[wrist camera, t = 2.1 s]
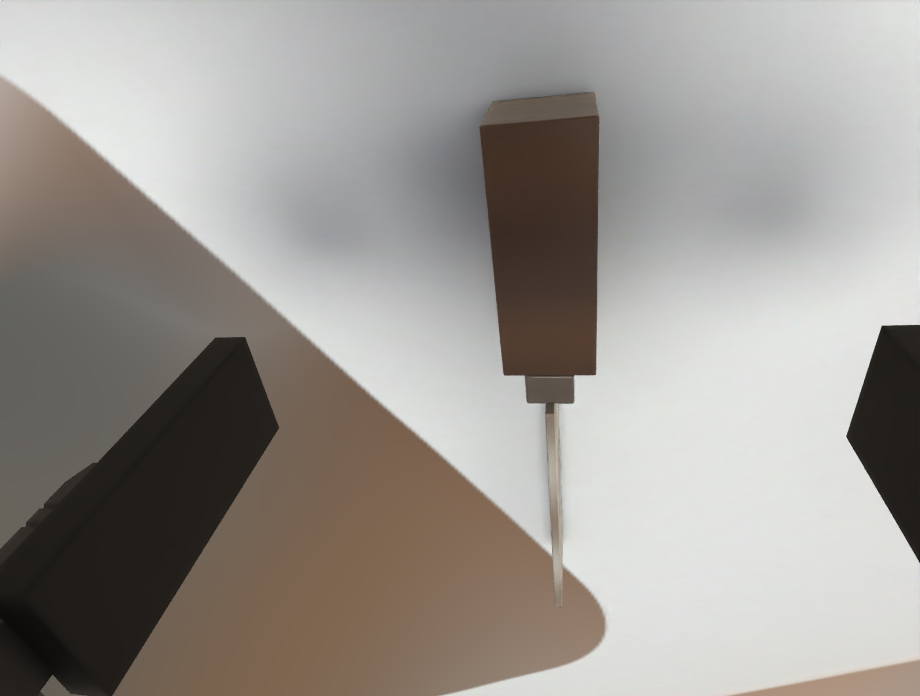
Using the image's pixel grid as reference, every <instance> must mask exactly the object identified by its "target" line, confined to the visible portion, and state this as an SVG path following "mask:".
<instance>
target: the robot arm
mask: <svg viewBox="0 0 920 696" xmlns="http://www.w3.org/2000/svg"><path fill="white" fill-rule="evenodd" d="M278 429H279V426H278V424H277V421H276V418H275V416H274V413H273V410H272V408H271V405H270V402H269V400H268V397H267V394H266V392H265V389H264V387H263V384H262V381H261V378H260V376H259V373H258V370H257V368H256V365H255V362H254V360H253V357H252V354H251V352H250V349H249V346H248V344H247V341H246V339H245V337H233V338H231V337H230V338H215V339H214V340H213V341H212V342H211V343H210V344H209V345H208V346H207V347H206V348H205V349H204V350H203V351H202V353H200V355H199V356H198V357H197V358H196V359H195V360H194V361H193V362H192V363H191V364H190V365H189V366H188V367H187V368H186V369H185V370H184V372H183V373H182V374H181V375H180V376H179V377H178V378H177V379H176V380H175V381H174V382H173V383H172V384H171V386H169V387H168V389H167V390H166V391H165V392H164V393H163V394H162V395H161V396H160V397H159V398H158V399H157V400H156V401H155V402H154V403H153V404H152V406H151V407H150V408H149V409H148V410H147V411H146V412H145V413H144V414H143V415H142V416H141V417H140V418H139V419H138V420H137V421H136V423H135V424H134V425H133V426H132V427H131V428H130V429H129V430H128V431H127V432H126V433H125V434H124V435H123V436H122V437H121V438H120V439H119V441H118V442H117V443H116V444H115V445H114V446H113V447H112V448H111V449H110V450H109V451H108V452H107V453H106V454H105V455H104V456H103V457H102V458H101V460H100V461H99V462H98V463H92V464H91V465H89V466H88V467H86V468H85V469H84V470H82V471H81V472H79V473H78V474H76V475H75V476H73V477H72V478H71V479H69V480H68V481H66V482H65V483H64V484H63V485H62V486H61V487H60V488H59V489H58V490H57V491H56V492H55V493H54V494H53V495H52V496H51V497H50V498H49V499H48V501H46V503H45V504H44V508H43V509H39V510H38V511H37V512H36V513H35V514H34V515H33V516H32V517H31V518H30V519H29V520H28V521H27V522H26V527H21V528H20V529H19V530H18V531H17V532H16V533H15V535H14V536H13V537H12V538H11V539H10V540H9V541H8V542H7V543H6V544H5V545H4V546H3V547H2V548H1V549H0V696H44V695H43V694H42V693H41V692H40V691H41V689H42V688H43V686H44V685H45V684H46V682H47V681H48V680H49V678H50V677H51V676H52V674H53V675H54V676H55V677H56V678H57V680H58V681H59V682H60V683H61V684H62V685H63V686H64V687H65V688H66V689H67V690H68V691H69V693H71V694H79V695H87V696H112V695H113V694H114V692H115V690H116V689H117V687H118V685H119V684H120V682H121V680H122V679H123V677H124V676H125V674H126V673H127V671H128V669H129V668H130V666H131V665H132V663H133V661H134V660H135V658H136V657H137V655H138V653H139V652H140V650H141V649H142V647H143V645H144V644H145V642H146V641H147V639H148V637H149V636H150V634H151V633H152V631H153V629H154V628H155V626H156V624H157V623H158V621H159V620H160V618H161V617H162V615H163V613H164V611H165V610H166V608H167V607H168V605H169V604H170V602H171V600H172V599H173V597H174V596H175V594H176V592H177V591H178V589H179V588H180V586H181V584H182V583H183V581H184V580H185V578H186V576H187V574H188V573H189V572H190V570H191V568H192V567H193V565H194V563H195V562H196V560H197V559H198V557H199V555H200V554H201V552H202V551H203V549H204V547H205V546H206V544H207V543H208V541H209V539H210V538H211V536H212V535H213V533H214V531H215V530H216V528H217V526H218V525H219V523H220V522H221V520H222V519H223V517H224V515H225V514H226V512H227V511H228V509H229V507H230V506H231V504H232V503H233V501H234V499H235V498H236V496H237V495H238V493H239V491H240V490H241V488H242V487H243V485H244V483H245V482H246V480H247V478H248V477H249V475H250V474H251V472H252V471H253V469H254V467H255V466H256V464H257V463H258V461H259V459H260V458H261V456H262V454H263V453H264V451H265V450H266V448H267V446H268V445H269V443H270V442H271V440H272V438H273V437H274V435H275V434H276V432H277V430H278ZM846 437H847V439H848V440H849V442H850V444H851V446H852V447H853V449H854V451H855V452H856V454H857V456H858V458H859V459H860V461H861V463H862V464H863V466H864V468H865V470H866V471H867V473H868V475H869V476H870V478H871V480H872V482H873V483H874V485H875V487H876V488H877V490H878V492H879V494H880V495H881V497H882V499H883V500H884V502H885V504H886V506H887V507H888V509H889V511H890V512H891V514H892V516H893V518H894V519H895V521H896V523H897V524H898V526H899V528H900V530H901V531H902V533H903V535H904V536H905V538H906V540H907V542H908V543H909V545H910V547H911V548H912V550H913V552H914V554H915V555H916V557H917V559H918V560H919V562H920V325H894V326H882V327H881V330H880V333H879V336H878V339H877V342H876V346H875V349H874V352H873V355H872V358H871V361H870V364H869V367H868V371H867V374H866V377H865V380H864V383H863V386H862V389H861V392H860V395H859V399H858V402H857V405H856V408H855V411H854V414H853V417H852V420H851V423H850V427H849V430H848V433H847V436H846Z"/></svg>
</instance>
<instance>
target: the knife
mask: <svg viewBox="0 0 920 696" xmlns="http://www.w3.org/2000/svg"><path fill="white" fill-rule="evenodd" d="M480 136H481V146H482V157H483V167H484V177H485V188H486V198H487V208H488V219H489V229H490V239H491V250H492V260H493V270H494V281H495V291H496V301H497V312H498V322H499V332H500V343H501V353H502V363H503V374H504V375H525V385H526V399H527V402H528V403H546V412H545V416H546V436H547V456H548V476H549V496H550V516H551V536H552V556H553V576H554V596H555V607H562V566H563V531H562V501H561V472H560V442H559V412H558V403H561V404H572V403H574V375H596V339H597V256H598V174H599V113H598V108H597V102H596V96H595V93H594V92H589V93H579V94H568V95H558V96H548V97H537V98H527V99H516V100H506V101H496V102H492V104H491V106H490V108H489V110H488V112H487V114H486V116H485V118H484V120H483V122H482V124H481V126H480Z"/></svg>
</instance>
